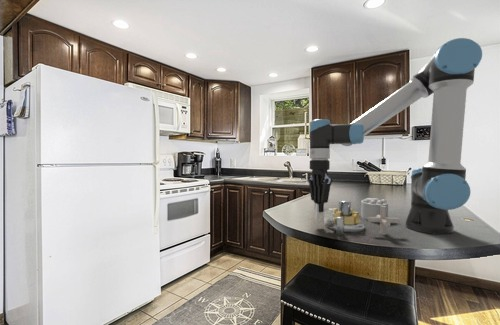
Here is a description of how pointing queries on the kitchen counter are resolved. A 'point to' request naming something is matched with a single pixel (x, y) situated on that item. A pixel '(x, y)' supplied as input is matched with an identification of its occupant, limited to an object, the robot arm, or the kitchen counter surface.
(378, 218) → the pipe connector
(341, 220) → the stop pin
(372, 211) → the lumpy-topped squat cylinder
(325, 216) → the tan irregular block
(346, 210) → the cap flange
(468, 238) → the kitchen counter surface
